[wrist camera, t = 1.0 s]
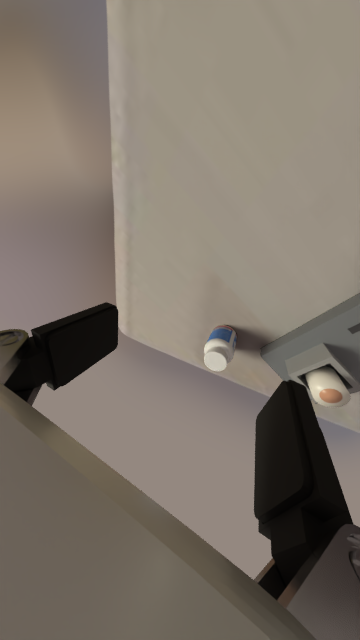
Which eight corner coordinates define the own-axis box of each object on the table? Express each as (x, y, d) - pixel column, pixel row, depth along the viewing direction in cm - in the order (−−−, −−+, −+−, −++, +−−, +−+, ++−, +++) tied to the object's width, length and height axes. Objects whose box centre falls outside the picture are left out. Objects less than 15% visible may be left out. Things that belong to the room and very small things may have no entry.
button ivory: (325, 361, 25) (336, 379, 21) (344, 381, 25) (358, 402, 21) (299, 372, 27) (305, 390, 23) (316, 390, 27) (325, 411, 23)
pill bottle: (207, 332, 38) (193, 355, 29) (226, 319, 35) (216, 341, 26) (222, 350, 38) (212, 378, 30) (242, 339, 35) (238, 367, 27)
